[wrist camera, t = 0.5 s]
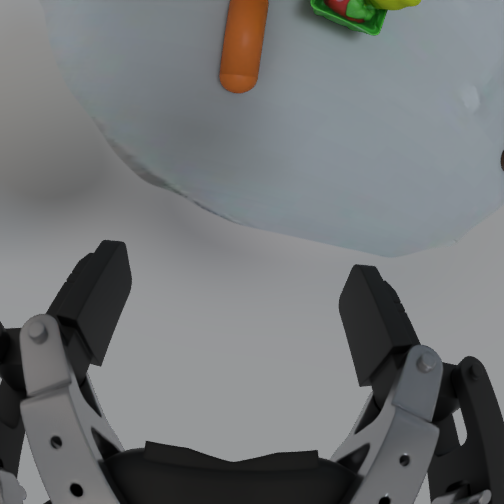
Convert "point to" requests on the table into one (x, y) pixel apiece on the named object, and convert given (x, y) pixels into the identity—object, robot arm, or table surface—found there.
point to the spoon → (502, 161)
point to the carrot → (243, 44)
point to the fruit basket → (359, 12)
